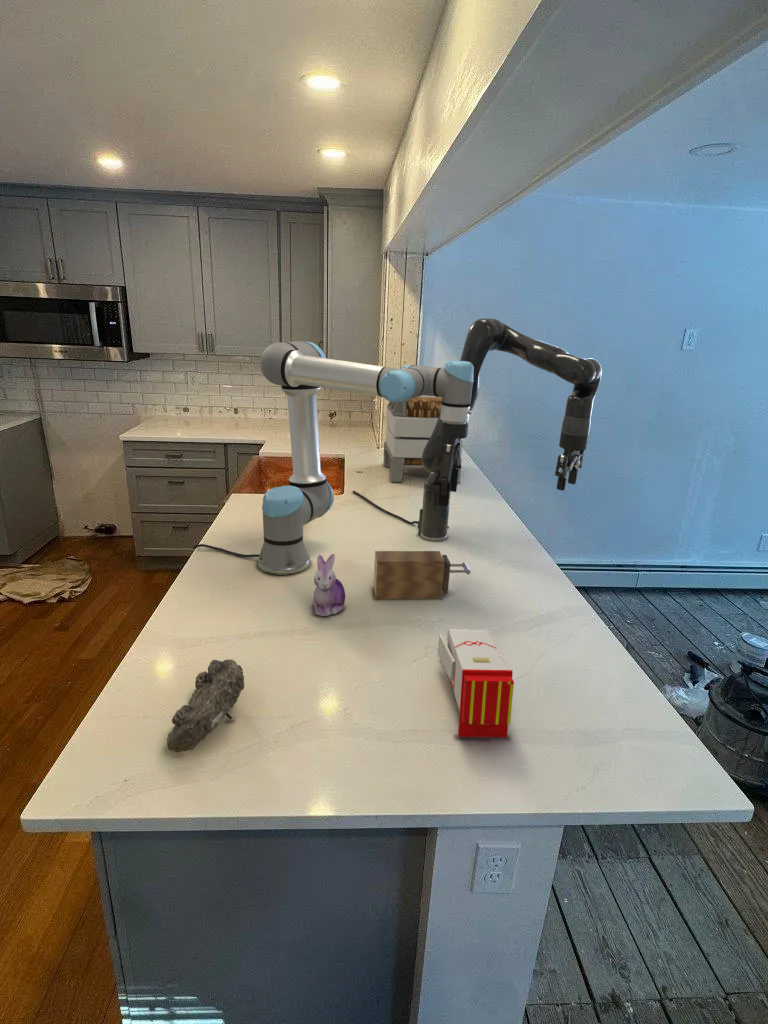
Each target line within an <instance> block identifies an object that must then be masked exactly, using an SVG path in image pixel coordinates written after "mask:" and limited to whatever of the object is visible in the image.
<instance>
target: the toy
mask: <svg viewBox="0 0 768 1024" xmlns="http://www.w3.org/2000/svg"><path fill="white" fill-rule="evenodd" d="M446 640H447V643H446V641H445V639H444V636H443V635H442V634H439V637H438V646H437V656H438V657H439V659H440V661H441V663H442V666H443V668H444V670H445V672H446V674H447V677H448V679H449V681H450V684H451V687H452V690H453V693H454V697H455V701H456V705H457V708H458V711H459V714H458V715H459V716H458V730H457V731H458V732H457V737H458V738H508V731H509V726H510V725H511V717H512V707H513V697H514V696H513V695H514V684H515V680H514V679H513V673H514V671H513V670H512V669H508V667H507V665H506V662H505V661H504V659H503V658H502V655H501V653H500V651H499V649H498V647H497V643H496V639H495V637H494V635H493V634H491V632H490V631H489V629H467V628H466V629H465V628H463V629H461V628H460V629H459V628H448V630H447V639H446Z"/></svg>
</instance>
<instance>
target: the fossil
mask: <svg viewBox="0 0 768 1024" xmlns="http://www.w3.org/2000/svg"><path fill="white" fill-rule="evenodd" d="M243 670H244V669H243V667H242V665H240V664H237V662H236V661H235V660H234V659H232V658H231V659H227V658H226V659H224V660H223V661H222V660H217V659H212V660H211V661H210V663H209V665H208V666H207V671H201V672H199V673H198V674H197V675H196V676H195V680H194V684H195V685H194V687H195V689H194V690H193V693H192V694H191V697H190V698H189V700H188V704H184V705H182V706H181V707H180V709H177V710H176V711H175V713H174V715H173V716H172V718H171V723H172V724H173V727H172V730H171V731H170V732H168V734H167V738H166V741H167V742H166V745H167V749H168V750H169V751H173V752H174V753H176V754H178V753H182V752H188V751H189V752H192V751H193V750H195V748H196V747H197V746H199V744H200V743H201V742H203V741H204V740H205V739H206V738H207V737H208V736H209V735H210V734H211V733H212V732H214V730H215V729H217V727H218V726H219V724H220V722H221V721H222V720H223V719H224V718H225V716H226V717H227V719H229V720H233V717H232V715H230V714H229V710H230V709H231V708H234V706H235V704H236V703H237V702H238V699H239V697H240V695H241V693H242V691H243V690H245V689H244V688H245V675H244V671H243Z"/></svg>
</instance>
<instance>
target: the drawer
mask: <svg viewBox="0 0 768 1024" xmlns="http://www.w3.org/2000/svg"><path fill="white" fill-rule="evenodd" d="M441 555H442V557H443V559H444V572H443V583H442V594H443V596H444V595H448V594H449V586H450V585H449V584H450V576H451V575H450V574H457V573H458V574H461V573H462V574H465V575H470V574H471V570H470V568H469V566H468V564H467V563H466V562H465V561H464V562H461V563H451V562H450V559H449V557H448V555H447V554H441ZM455 567H457V568H458V567H460V568H461V567H462V569H451V568H455Z"/></svg>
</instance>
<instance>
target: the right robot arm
mask: <svg viewBox="0 0 768 1024" xmlns="http://www.w3.org/2000/svg"><path fill="white" fill-rule="evenodd" d="M490 351H491V352H492V351H499V352H504V353H508V354H511V355H513V356H516V357H518V358H520V359H521V360H523V361H524V362H526V363H527V364H529V365H531V366H532V367H535V368H537V369H540V370H542V371H544V372H547V373H550V374H554V375H555V376H557V377H559V378H560V379H562V380H564V381H565V382H568V383H569V384H572V385H573V388H572V392H571V393H570V394H568V396H567V399H566V406H565V410H564V417H563V419H562V423H561V429H560V436H559V444H558V446H559V448H560V449H563V454H558V456H557V462H556V467H555V472H554V476H556V477H557V482H556V489H557V490H558V491H565V490H566V485H567V483H568V484H570V485H575V484H576V483H577V479H578V472H580V470H581V469H582V468H583V462H584V461H583V460H584V454H585V451H586V450H587V448H588V442H589V435H590V430H591V420H592V419H591V418H592V412H593V406H594V400H595V397H596V395H597V392H598V389H599V387H600V383H601V379H602V374H603V372H602V371H603V370H602V365H601V363H600V362H599V361H598V360H597V359H595V358H592V357H587V358H581V357H578V356H575V355H573V354H570V353H569V352H568V351H567V350H565V349H563V348H561V347H559V346H556V345H553V344H550V343H548V342H545V341H542V340H538V339H535V338H533V337H529V336H528V335H525V334H523V333H521V332H519V331H518V330H515V329H513V328H512V327H510V326H509V325H507V324H505V323H503V322H502V321H500V320H499V319H497V318H485V317H483V318H478V319H476V320H474V321H473V322H472V324H471V325H470V326H469V329H468V331H467V334H466V336H465V341H464V345H463V348H462V352H461V356H460V359H459V361H467V362H470V363H472V364H473V366H474V371H473V380H474V381H473V386H472V395H471V404H470V409H469V410H471V411H472V412H473V409H474V407H475V404H476V402H477V399H478V397H479V392H480V373H481V369H482V367H483V364H484V361H485V360H486V357H487V355H488V354H489V352H490ZM440 415H441V412H440ZM440 415H439V418H438V420H437V423H436V426H435V428H434V430H433V433H432V435H431V437H430V439H429V441H428V443H427V444H426V446H425V448H424V451H423V453H422V464H423V466H422V467H423V468H424V470H425V471H426V472H428V473H429V474H428V476H427V478H425V480H424V482H423V493H422V496H423V497H422V506H421V508H420V509H419V516H418V520H412V521H410V520H407V519H405V518H404V517H401V516H399V515H398V514H395V513H393V512H391V511H389V510H386V509H384V508H383V507H381V506H379V505H378V504H376V503H374V502H373V501H371V500H369V498H367V497H366V496H364V495H363V494H361V493H360V492H358V491H356V490H352V493H353V494H355V495H357V496H359V497H360V498H361V499H363V500H364V501H366V502H368V503H369V504H370V505H371V506H373V507H375V508H377V509H378V510H380V511H382V512H384V513H385V514H387V515H389V516H392V517H393V518H396V519H399V520H401V521H402V522H404V523H406V524H408V525H411V526H412V525H415V524H416V525H417V527H416V528H417V535H418V536H420V538H421V539H424V540H426V541H432V542H440V541H444V540H446V539H447V538H448V530H449V529H450V526H449V517H450V516H449V514H450V504H451V494H452V491H450V495H449V506H448V507H447V506H440V505H438V499H439V487H440V482H437V479H439V477H440V470H441V464H442V457H443V450H444V444H446V442H447V438H446V437H442V436H440V434H439V430H440V422H441V421H442V420H441V419H440ZM470 416H471V414H469V417H470ZM443 478H447V477H443ZM567 478H568V479H567Z"/></svg>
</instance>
